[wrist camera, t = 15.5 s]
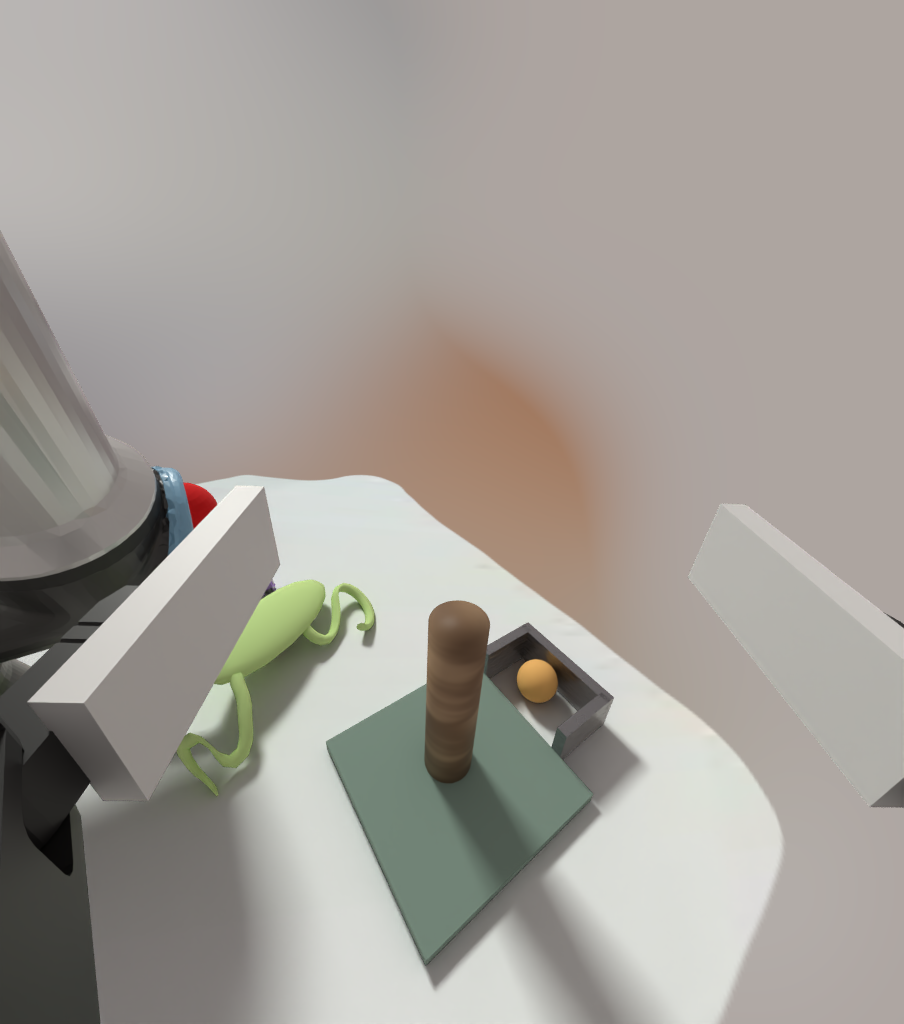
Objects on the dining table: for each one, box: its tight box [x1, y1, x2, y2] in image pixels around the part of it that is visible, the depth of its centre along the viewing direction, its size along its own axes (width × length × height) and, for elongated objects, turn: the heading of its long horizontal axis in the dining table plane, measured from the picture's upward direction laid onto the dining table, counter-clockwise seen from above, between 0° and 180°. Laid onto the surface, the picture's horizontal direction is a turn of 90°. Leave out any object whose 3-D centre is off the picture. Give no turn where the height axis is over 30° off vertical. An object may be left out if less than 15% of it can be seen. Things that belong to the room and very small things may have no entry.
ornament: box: [183, 483, 217, 529], centre depth 59 cm, size 9×9×10 cm
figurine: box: [177, 579, 375, 796], centre depth 42 cm, size 18×27×6 cm
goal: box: [484, 623, 614, 760], centre depth 40 cm, size 6×11×4 cm, turn 36°
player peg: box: [424, 601, 490, 783], centre depth 31 cm, size 4×4×16 cm
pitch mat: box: [326, 673, 593, 966], centre depth 34 cm, size 16×16×1 cm
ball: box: [517, 659, 558, 703], centre depth 41 cm, size 4×4×4 cm
